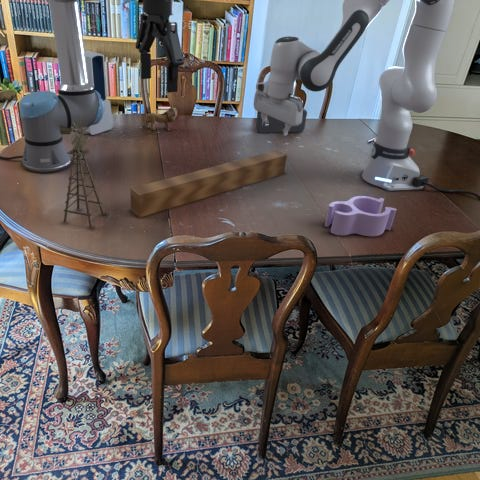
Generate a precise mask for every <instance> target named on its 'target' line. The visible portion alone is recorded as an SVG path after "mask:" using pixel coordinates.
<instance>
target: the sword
mask: <svg viewBox="0 0 480 480" xmlns="http://www.w3.org/2000/svg"><path fill="white" fill-rule="evenodd" d="M375 139H376V137H374V138H370V139H368V140H367V144H369V143H372V142H374V140H375Z"/></svg>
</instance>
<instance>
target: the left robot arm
mask: <svg viewBox="0 0 480 480" xmlns="http://www.w3.org/2000/svg"><path fill="white" fill-rule="evenodd" d="M47 1H48V5H49V12H50V18H51V24H52V25H51V26H52V31H53V36H54V44H55V49H56V56H57V61H58V62H57V63H58V67H59V75H60V80H61V82H60V84H59V85H58V86H57V91H58V94H57V93H56V92H54V91H51V90H44V91H42V90H37V91H33V92H30V93H27V94H25V95H24V96H22V97H21V98H20V100H19V103H18V104H19V116H20V119H21V125H22V132H23V137H24V148H23V153H22V155H17V156H16V155H14V156H9V157H7V156H1V155H0V160H6V161H7V160H9V161H10V160H15V159H22V160H21V161H22V166H23V168H24V169H25V170H27V171H29V172H33V173H39V174H46V173H56V172H61V171H63V170H66V169H67V168H69V167H70V166H71V165H72V164H71V161H72V159H71V154H67V152H69V151H68V150H67V149H68V148H67V147H66V145H65V143H64V140H63V134H60V126H64V127H67V128H69V129H71V126H72V127H74V128H75V129H76V127H75V126H74V124H73V121H74V123H75V125H76V124H78V116H79V124H78V127H80V128H83V127H84V125H85V124H86V122H87V125H86V126H85V127H90V126H92V125H96V124H98V123H99V122H100V120H101V119H102V117H103V113H104V105H103V100H102V99H101V95H100V94H99V93H98V92H97V91H96V90H94V86H93V85H92V84H91V83H90V82H89V80H88V73H87V65H86V58H85V44H84V35H83V28H82V22H81V21H82V20H81V12H80V5H79V1H80V0H47ZM142 12H143V13H141V14H140V23H139V28H138V33H137V37H136V42H135V50H138V52H139V53H140V79H141V80H149V79H152V54H151V52H152V51H151V48H152V46H153V44H154V42H155V40H156V39H158V42H160V43H161V45H162V48H163V51H164V54H165V57H166V60H167V62H168V63H167V64H166V93H168V94H169V93H170V94H171V93H177V92H178V87H179V86H178V84H179V83H178V82H179V81H178V80H179V67H180V66H184V65H185V61H184V56H183V51H182V47H181V42H180V37H179V31H178V22H176V21H170V16H174V13H175V0H142ZM80 115H81V123H82V125H83V123H84V125H83V127H82V126H80ZM83 115H84V117H83ZM75 117H76V120H77V123H76V120H75ZM85 118H86V120H85ZM82 119H83V122H82ZM84 120H85V122H84ZM59 125H60V126H59ZM76 126H77V125H76ZM78 127H77V128H78ZM71 130H72V131H73V129H71ZM76 130H77V129H76Z"/></svg>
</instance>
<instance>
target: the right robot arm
mask: <svg viewBox="0 0 480 480" xmlns="http://www.w3.org/2000/svg"><path fill="white" fill-rule="evenodd" d="M389 1H390V0H343V2H342V20H341V21H342V22H341V25H340V27H339V29H338V30H337V32H336V33H335V34H334V36H333V37H332V38H331V39H330V41H329V42H328V44H327V45H326V46H325V48H324V49H323V50H322V51H321V52H320V51H318V50H317V49H313V48H311V47H309V46H308V45H306V44H305V43H304V42H303V41H301V39H300V38H299V37H297V36H289V35H288V36H282V37H280V38H277V39H276V41H275V42H274V44H273V47H272V51H271V54H270V55H271V56H270V61H269V69H270V71H269V75H268V78H267V80H266V81H262V82H257V83H256V85H255V89H256V90H255V92H254V97H253V108H254V110H255V111H257V112H258V111H259V112H261V117H262V121H263V123H262V125H263V126H265V127H268V126H269V121H268V120H267V115H268V116H271V117H273V118H275V119H277V120H280V121H282V122H284V123H285V126H286V127H285V129H282V132H280V133H281V135H282V136H283V137H284V136H285V137H286V136H288V135H289V132H288V130H289V129H290V128H291V127H292V126H298V125H300V124H301V123H302V116H303V109H304V102H303V100H302V99H301V97H300V96H297V95H295V94H294V92H295V86H296V81H297V80H300V81H301V83H302V85H303V87H304V88H305V89H307V90H308V91H311V92H321V91H324V90H326V89H327V88H329V86H330V85H331V84H332V83H333V81H334V79H335V76H336V73H337V71H338V68H339V67H340V65H341V63H342V62H343V61H344V59H345V58H346V57H347V55H348V54H349V53H350V52H351V50H352V49H353V48H354V46H355V45H356V43H358V41H359V40H360V38H361V37H362V36H363V34H364V32H365V31H366V30H367V28H368V27H369V26H370V25H371V23H372V22H373V21H374V19H375V18H377V16H379V14H380V12H381V11H383V9H384V8H385V7H386V5H387V4H388V3H389ZM414 1H415V2H414V3H415V10H414V13H413V17H412V19H411V22H410V24H409V28H408V31H407V34H406V37H405V39H404V43H403V46H402V54H403V60H404V61H403V67H401V66H391V67H388V68H386V69H385V70H383V72H382V73H381V74H380V76H379V78H378V88H379V92H380V119H379V125H378V128H377V132H376V137H375V138H376V139H375V140H374V141H373V143H372V146H371V151H370V156H369V159H368V161H367V164H366V166H365V169H364V170H363V172H362V173H361V177H362V179H363V180H364V181H365V182H366V183H369V184H371V185H373V186H376V187H379V188H381V189H384V190H385V191H388V192H393V191H410V190H412V191H413V190H423V189H424V186H428V187H430V188H432V189H435V190H437V191H438V192H442V193H449V194H450V193H459V194H468V195H472V196H473V197H476V198H477V199H478V200H479V201H480V194H478V193H477V192H475V191H471V190H464V189H463V190H462V189H445V188H440V187H439V186H436V185H434V184H432V183H430V182H429V177H428V176H427V175H424V174H422V175H421V172H420V167H419V166H418V165H417V163H416V162H415V161H414V160H413V158H412V157H414V156H415V155H416V150H414V148H411V147H410V146H409V141H410V137H411V134H412V130H413V124H414V123H413V120H412V116H411V112H412V113H417V114H422V113H425V112H427V111H429V110H430V109H431V108H432V107H433V106H434V104H435V103H436V101H437V99H438V90H437V87H436V82H435V76H436V67H437V66H436V65H437V60H438V56H439V52H440V50H441V47H442V44H443V41H444V39H445V36H446V33H447V30H448V27H449V24H450V22H451V18H452V14H453V10H454V4H455V0H414ZM410 156H411V157H410Z"/></svg>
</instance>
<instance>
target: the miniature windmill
mask: <svg viewBox="0 0 480 480" xmlns="http://www.w3.org/2000/svg"><path fill="white" fill-rule="evenodd" d="M83 117H84V115H83ZM75 120H76V117H75ZM85 120H86V118H85ZM85 120H84V122H85ZM82 122H83V119H82ZM76 123H77V120H76ZM73 124H74V126H75V127H76V129H75V128H74V127H72V126H71V129H73V130H71V129H69V128H67V127H64V126H60V125H59V126H60V134H62V135H72V136H70V141H71V142H70V143H71V145H72V149H70V150H69V151H68V152H67V154H69V155H72V159H71V164H70V169H69V170H70V173H69V177H68V180H69V181H68V185H67V192H66V200H65V201H64V203H65V208H64V209H63V212H64V216H63V223H64V224H66V223H67V219H68V213H71V214H76V215H80V216H87V221H88V226H89V229H90V228H93V224H92V218H91V216H92V215H93V214H94V213H95V212H96V211H97V210H98V209H99V210H100V212H101V213H100V214H101V215H102V216H103V215H105V211H104V209H103V206H102V205H103V202H101V199H100V196H99V193H98V191H97V186H96V184H95V182H94V180H93V176H92V172H91V170H90V168H89V165H88V159H87V158H86V155H87V154H89V153H90V152H91V150H90V149H88V148H86V149H83V148H85V146H86V144H87V140H88V139H89V137H88V136H87V135H89V134H88V132H89V131H88V132H83V131H85V130H86V129H88V127H86V128H85V126H86V125H87V122H86V124H85V125H84V123H83V125H84V127H83V125H82V123H81V115H80V126H82V127H83V128H80V127H78V124H79V116H78V124H76V125H77V126H76V125H75V123H74V121H73ZM77 127H78V128H77ZM84 128H85V129H84ZM80 129H81V130H80ZM83 129H84V130H83ZM83 165H85V168H86V171H84V170H83ZM74 168H76V171H75V173H74ZM85 174H86V175H87V176H85V177H84V175H85ZM75 176H76V177H75ZM80 176H81V177H80ZM87 179H89V180H90V182H91V185H86V183H85V181H86V180H87ZM80 182H81V183H80ZM74 183H76V184H75V186H74V187H73V188H72V185H74ZM80 187H82V190H83V194H80ZM86 188H91V189H92V190H91V191H90V192H88V194H87V189H86ZM75 189H76V192H74V190H75ZM73 192H74V193H73ZM93 192H94V195H95V198H96V200H97V201H94V200H90V199H88V197H89V196H90V195H91V194H93ZM70 195H71V196H70ZM75 196H76V199H75V200H73V201H72V202H71V203H70V200H71V199H72V198H74V197H75ZM80 197H82V198H80ZM83 198H84V199H83ZM80 202H85V208H86V213H83V212H78V211H80V206H81V205H80V204H81V203H80ZM69 203H70V204H69ZM75 203H76V209H77V211H72V210H69V208H70V207H71V206H73V205H74V204H75ZM89 203H93V204H97V206H96V207H95V208H94V209H93V210H92V211H91V212H90V207H89V206H90V205H89Z"/></svg>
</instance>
